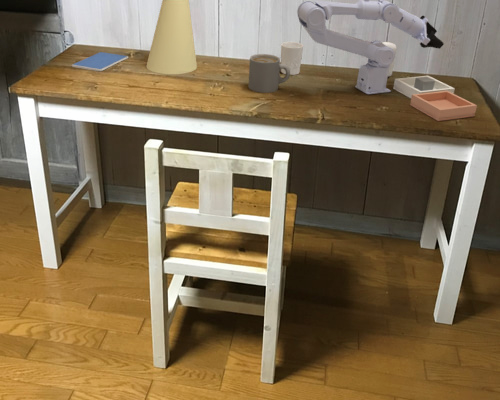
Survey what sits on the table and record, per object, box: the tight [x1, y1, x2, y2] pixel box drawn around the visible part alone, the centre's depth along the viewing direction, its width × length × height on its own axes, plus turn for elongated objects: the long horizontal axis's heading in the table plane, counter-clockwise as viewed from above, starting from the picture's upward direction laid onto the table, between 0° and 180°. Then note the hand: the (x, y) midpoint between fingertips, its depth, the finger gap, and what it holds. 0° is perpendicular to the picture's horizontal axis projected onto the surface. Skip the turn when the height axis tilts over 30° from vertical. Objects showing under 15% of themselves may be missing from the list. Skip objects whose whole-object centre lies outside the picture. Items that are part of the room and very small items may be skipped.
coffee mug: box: [248, 53, 291, 94], centre depth 187 cm, size 13×10×10 cm
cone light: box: [146, 0, 198, 75], centre depth 199 cm, size 25×18×35 cm
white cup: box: [280, 41, 304, 76], centre depth 203 cm, size 8×8×10 cm
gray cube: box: [414, 76, 435, 91], centre depth 190 cm, size 4×4×4 cm
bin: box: [409, 91, 478, 122], centre depth 178 cm, size 14×14×4 cm
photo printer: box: [382, 41, 397, 77], centre depth 203 cm, size 10×4×12 cm, turn 123°
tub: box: [392, 75, 456, 99], centre depth 191 cm, size 14×14×4 cm
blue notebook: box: [71, 51, 129, 72], centre depth 207 cm, size 19×13×1 cm, turn 161°
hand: (438, 39), depth 189 cm, fingers open, 7 cm apart
